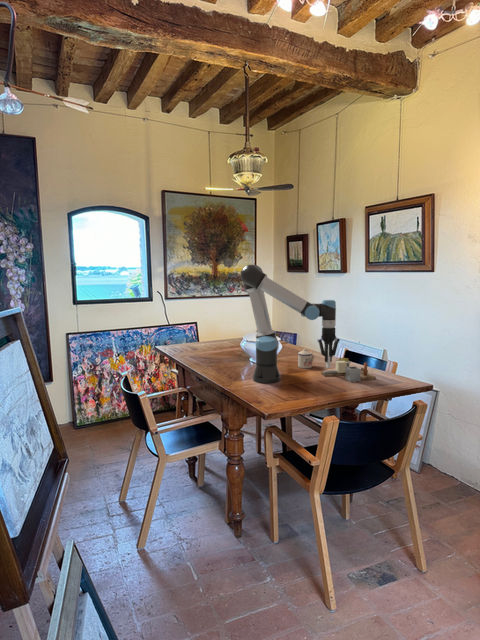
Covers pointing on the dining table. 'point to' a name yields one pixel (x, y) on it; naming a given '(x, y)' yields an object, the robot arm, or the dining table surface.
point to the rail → (338, 373)
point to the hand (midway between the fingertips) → (328, 367)
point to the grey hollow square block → (352, 373)
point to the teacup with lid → (305, 359)
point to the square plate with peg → (366, 374)
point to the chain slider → (338, 367)
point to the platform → (344, 360)
